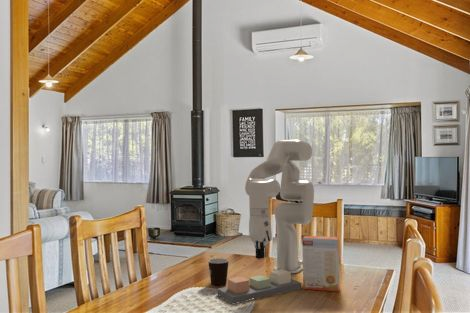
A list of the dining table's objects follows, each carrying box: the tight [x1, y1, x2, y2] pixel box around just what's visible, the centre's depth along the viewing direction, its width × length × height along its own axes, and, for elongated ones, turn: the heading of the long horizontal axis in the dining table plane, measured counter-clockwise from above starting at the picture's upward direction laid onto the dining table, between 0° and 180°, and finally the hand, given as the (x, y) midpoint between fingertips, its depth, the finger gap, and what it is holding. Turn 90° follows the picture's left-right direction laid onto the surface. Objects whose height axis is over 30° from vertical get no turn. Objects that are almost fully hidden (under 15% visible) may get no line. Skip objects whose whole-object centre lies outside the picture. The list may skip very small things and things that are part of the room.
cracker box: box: [301, 235, 340, 293], centre depth 175 cm, size 14×6×21 cm, turn 71°
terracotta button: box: [227, 276, 250, 294], centre depth 167 cm, size 6×6×5 cm
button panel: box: [216, 278, 302, 304], centre depth 173 cm, size 32×12×2 cm, turn 120°
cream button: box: [269, 269, 292, 285], centre depth 178 cm, size 6×6×5 cm
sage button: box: [249, 274, 271, 289], centre depth 173 cm, size 6×6×5 cm
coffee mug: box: [207, 257, 229, 288], centre depth 185 cm, size 12×9×10 cm
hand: (260, 257), depth 173 cm, fingers closed
